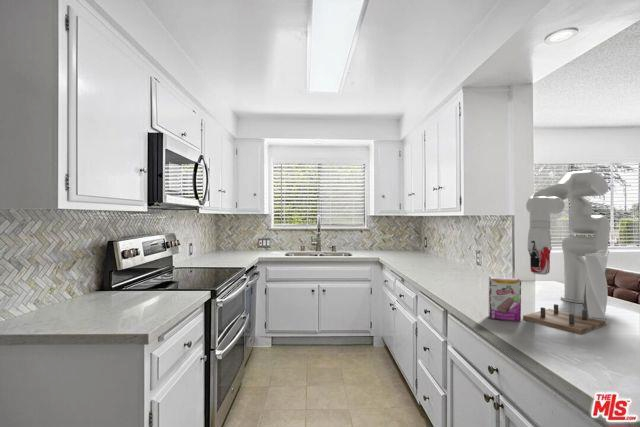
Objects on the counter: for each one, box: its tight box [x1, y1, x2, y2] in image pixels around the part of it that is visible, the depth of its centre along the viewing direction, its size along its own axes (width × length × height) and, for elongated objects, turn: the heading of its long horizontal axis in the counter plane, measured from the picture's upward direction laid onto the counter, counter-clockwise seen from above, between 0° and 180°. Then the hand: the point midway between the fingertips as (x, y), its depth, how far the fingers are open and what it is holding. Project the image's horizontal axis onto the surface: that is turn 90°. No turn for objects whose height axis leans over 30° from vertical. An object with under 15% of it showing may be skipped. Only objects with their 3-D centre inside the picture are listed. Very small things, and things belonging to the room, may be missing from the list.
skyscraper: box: [582, 249, 610, 320], centre depth 141 cm, size 8×8×28 cm
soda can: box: [529, 246, 551, 276], centre depth 147 cm, size 7×7×12 cm
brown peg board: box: [522, 303, 607, 335], centre depth 133 cm, size 20×20×5 cm
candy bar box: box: [488, 276, 522, 322], centre depth 138 cm, size 11×5×16 cm, turn 71°
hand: (540, 266), depth 147 cm, fingers closed on soda can, 7 cm apart
